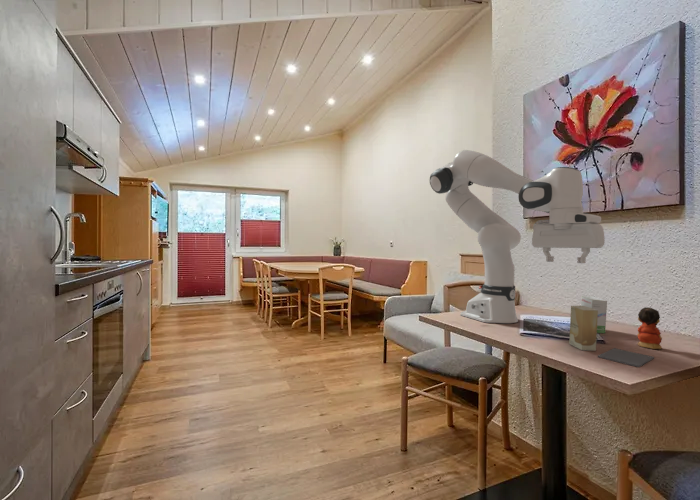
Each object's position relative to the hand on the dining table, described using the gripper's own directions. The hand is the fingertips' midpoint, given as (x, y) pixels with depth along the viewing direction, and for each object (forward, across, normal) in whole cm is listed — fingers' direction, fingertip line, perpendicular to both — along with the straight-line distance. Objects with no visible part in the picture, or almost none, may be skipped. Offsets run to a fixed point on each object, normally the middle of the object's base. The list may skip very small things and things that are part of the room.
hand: (565, 262), depth 106 cm
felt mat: (+26, +16, 0) cm, 30 cm away
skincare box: (+26, +6, 0) cm, 26 cm away
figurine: (+26, +15, +18) cm, 35 cm away
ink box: (+26, -3, +25) cm, 36 cm away
